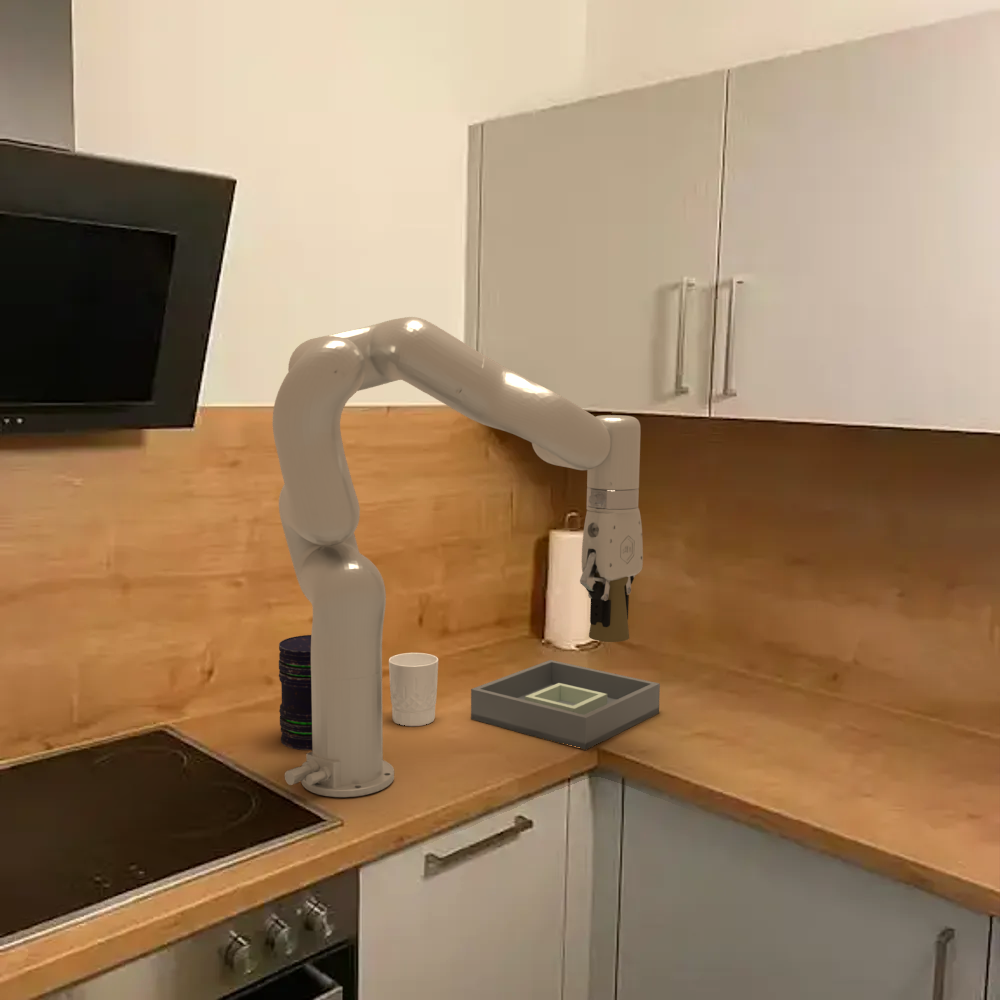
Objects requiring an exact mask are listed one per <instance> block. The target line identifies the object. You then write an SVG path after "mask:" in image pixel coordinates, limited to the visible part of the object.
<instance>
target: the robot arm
mask: <svg viewBox="0 0 1000 1000" xmlns="http://www.w3.org/2000/svg"><path fill="white" fill-rule="evenodd" d="M287 369H288V372H287V374H286V375H285V377H284V378H283V381H282V382H281V385H280V387H279V389H278V392H277V394H276V397H275V401H274V405H273V411H272V432H273V433H272V434H273V439H274V445H275V449H276V453H277V456H278V457H277V458H278V463H279V467H280V468H279V469H280V471H281V475H282V480H283V483H284V484H283V486H282V488H281V490H280V493H279V498H278V513H279V517H280V522H281V526H282V529H283V533H284V536H285V540H286V544H287V547H288V551H289V552H288V553H289V555H290V559H291V563H292V565H293V569H294V573H295V577H296V580H297V582H298V585H299V587H300V590H301V592H302V593H303V595H304V597H306V599H307V600H308V601H309V603H311V606H312V607H311V608H312V623H311V634H310V635H311V690H312V750H311V751H310V752H307V753H306V760H305V761H304V762H303V763H302V765H301V766H296V767H294V768H291V769H289V770H286V771H285V773H284V781H285V782H286V783H287V784H288V785H289V786H292V785H296V784H298V783H300V784H302V787H303V788H305V789H306V790H307V791H309V792H311V793H313V794H316V795H318V796H319V795H320V796H325V797H331V798H353V797H361V796H366V795H371V794H374V793H377V792H379V791H382V790H384V789H386V788H387V787H389V786H390V785H391V784H392V783H393V782H394V779H395V769H394V767H393V765H392V764H390V763H389V762H388V761H386V760H384V759H383V757H384V756H383V754H384V753H383V752H384V751H383V745H384V744H383V741H384V740H383V630H384V622H385V621H384V619H385V612H386V604H387V603H386V602H387V600H386V598H387V596H386V595H387V593H386V586H385V581H384V578H383V576H382V573H381V572H380V571H379V569H378V567H377V566H376V565H375V564H374V563H373V562H372V561H371V560H370V558H368V557H367V556H365V555H363V554H362V553H360V550H359V546H358V543H357V539H356V536H355V531H356V530H357V528H358V526H359V522H360V515H361V514H360V513H361V512H360V511H361V508H360V502H359V499H358V496H357V493H356V490H355V486H354V483H353V480H352V476H351V472H350V468H349V464H348V461H347V458H346V454H345V448H344V444H343V443H344V442H343V439H342V432H341V419H342V413H343V411H344V408H345V406H346V404H347V403H348V401H349V400H351V397H353V396H354V395H355V394H356V393H357V392H359V391H363V390H367V389H371V388H375V387H379V386H382V385H386V384H389V383H390V384H391V383H393V382H396V381H403V382H405V383H407V384H409V385H411V386H413V387H414V388H416V389H418V390H420V391H421V392H423V393H424V394H427V395H429V396H430V397H432V398H434V399H435V400H437V401H438V402H440V403H442V404H444V405H446V406H447V407H450V408H451V409H453V410H454V411H456V412H457V413H460V414H461V415H463V416H464V417H467V418H468V419H470V420H472V421H474V422H476V423H479V424H481V425H484V426H487V427H488V428H489V427H490V428H493V429H496V430H500V431H504V432H506V433H509V434H513V435H515V436H517V437H519V438H521V439H523V440H526V441H528V442H529V443H531V445H532V449H533V451H534V452H535V454H536V455H537V457H539V458H540V459H541V460H543V461H544V462H546V463H547V464H551V465H554V466H559V467H562V468H563V467H564V468H570V469H573V470H578V471H586V472H587V473H586V474H587V477H586V478H587V479H586V480H587V481H586V484H587V485H586V486H587V488H586V515H585V520H584V527H583V534H582V542H581V543H582V544H581V545H582V546H581V570H582V574H581V576H580V579H579V583H580V584H581V585H582V587H584V588H585V590H586V591H587V592H588V593H587V594H588V598H589V599H590V612H589V613H590V614H589V616H590V617H589V623H590V625H591V624H592V625H596V623H597V622H600V623H602V625H603V627H609V626H610V613H611V600H607V599H608V596H609V588H610V581H614V580H618V579H621V578H623V577H628V582H627V584H626V585H625V586H624V589H625V599H626V609H627V619H628V620H629V603H630V601H629V599H630V597H629V596H630V595H631V593H632V584H633V582H634V579H635V577H636V576H637V575H638V574H639V573H640V572H641V571H642V569H643V563H644V552H643V551H644V549H643V547H644V546H643V545H644V544H643V543H644V542H643V541H644V540H643V526H642V525H643V524H642V519H641V518H642V515H641V512H640V508H639V494H640V493H639V489H640V465H641V464H640V463H641V462H640V460H641V455H640V454H641V423H640V421H639V419H637V418H636V417H634V416H631V415H616V414H612V415H611V414H607V415H597V416H594V414H591V413H590V412H588V411H587V410H585V409H583V408H582V407H580V406H579V405H577V404H576V403H574V402H572V401H570V400H569V399H567V398H566V397H564V396H562V395H560V394H558V393H556V392H555V391H553V390H551V389H549V388H547V387H544V386H542V385H541V384H539V383H536V382H534V381H533V380H530V379H528V378H527V377H525V376H523V375H522V374H519V372H516V371H513V370H512V369H510V368H507V367H506V366H503V365H501V364H500V363H498V362H496V361H495V360H493V359H491V358H489V357H488V356H486V355H485V354H483V353H482V352H479V351H478V350H476V349H475V348H473V347H472V346H470V345H468V344H467V343H465V342H464V341H462V340H460V339H458V338H457V337H455V336H454V335H452V334H450V333H449V332H447V331H446V330H444V329H442V328H441V327H439V326H437V325H436V324H434V323H432V322H430V321H428V320H426V319H423V318H421V317H416V316H408V317H407V316H406V317H400V318H394V319H389V320H385V321H383V322H378V323H376V324H372V325H367V326H364V327H359V328H355V329H350V330H346V331H341V332H338V333H334V334H333V333H332V334H328V335H324V336H319V337H318V336H317V337H314V338H313V337H312V338H309V339H307V340H306V341H304V342H302V343H300V344H299V345H298V346H297V347H296V348H295V349H294V350H293V352H292V353H291V356H290V358H289V361H288V368H287ZM596 573H599V574H600V576H601V577H604V578H599V577H596ZM597 582H603V585H602V588H601V587H600V585H599V584H598V583H597Z"/></svg>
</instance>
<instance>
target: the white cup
mask: <svg viewBox="0 0 1000 1000" xmlns="http://www.w3.org/2000/svg"><path fill="white" fill-rule="evenodd" d="M388 671H389V688H390V689H389V690H390V702H391V713H392V715H391V716H392V717H391V718H392V721H393V722H394V723H395V724H398V725H399V724H400V726H404V725H405V727H421V726H426V724H427V725H429V724H431V723H432V722H434V721H435V719H436V703H437V695H438V694H437V692H438V675H439V672H438V671H439V658H438V657H437V656H436V655H434V654H430V653H426V652H425V653H424V652H405V653H399V654H396V655H392V656H390V657H389V659H388Z"/></svg>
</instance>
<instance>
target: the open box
mask: <svg viewBox="0 0 1000 1000" xmlns="http://www.w3.org/2000/svg"><path fill="white" fill-rule="evenodd" d="M660 687H661V684H660V683H659V682H653V681H649V680H645V679H641V678H636V677H633V676H631V677H630V676H628V675H627V676H626V675H623V674H622V675H621V674H617V673H613V672H608V671H603V670H598V669H595V668H590V667H586V666H585V667H584V666H581V665H575V664H572V663H571V664H570V663H566V662H562V661H559V660H558V661H557V660H552V659H548V660H547V661H544V662H541V663H539V664H536V665H533V666H530V667H528V668H524V669H522V670H519V671H516V672H515V673H511V674H508V675H505V676H502V677H501V678H497V679H495V680H492V681H489V682H487V683H484V684H481V685H478V686H476V687H473V688H471V689H470V704H471V705H470V719H471V720H474V721H476V722H479V723H484V724H488V725H491V726H495V727H499V728H503V729H505V730H510V731H513V732H518V733H521V734H524V735H527V736H531V737H534V736H536V737H535V738H538V737H539V739H542V738H544V739H543V740H545V739H547V740H546V741H549V740H552V741H555V742H554V743H556V742H559V743H558V744H560V743H564V744H568V745H572V746H576V747H580V748H582V749H585V750H584V751H587V750H589V749H590V748H589V747H591V748H593V747H594V745H595V746H597V745H599V744H601V743H603V742H605V741H607V740H608V739H611V738H613V737H615V736H617V735H618V734H621V733H622V732H625V731H626V730H628V729H630V728H632V727H634V726H636V725H638V724H640V723H642V722H644V721H646V720H648V719H651V718H653V717H654V716H656V715H658V714H659V713H660V694H661V693H660V691H661V690H660V689H661V688H660ZM552 741H551V742H552ZM602 741H603V742H602ZM600 742H601V743H600ZM598 743H599V744H598ZM596 744H597V745H596ZM592 746H593V747H592ZM588 748H589V749H588ZM582 749H581V750H582ZM586 749H587V750H586Z"/></svg>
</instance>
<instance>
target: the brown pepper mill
mask: <svg viewBox="0 0 1000 1000" xmlns="http://www.w3.org/2000/svg"><path fill="white" fill-rule="evenodd" d="M596 577H599V578H604V577H601V576H600V574H599V573H596ZM627 582H628V577H623V578H621V579H618V580H614V581H610V588H609V596H608V599H607V600H611V613H610V626H609V627H603V625H602V623H600V622H597V623H596V625H592V624H591V623H590V626H589V631H588V632H589V633H588V638H589V639H591V640H594V641H599V642H603V643H618V642H619V643H621V642H625V641H628V640H630V632H629V618H628V619H627V609H626V599H625V589H624V586H625V585H626V584H627ZM597 583H598V584H599V585H600V587H601V588H602V585H603V582H597Z"/></svg>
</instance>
